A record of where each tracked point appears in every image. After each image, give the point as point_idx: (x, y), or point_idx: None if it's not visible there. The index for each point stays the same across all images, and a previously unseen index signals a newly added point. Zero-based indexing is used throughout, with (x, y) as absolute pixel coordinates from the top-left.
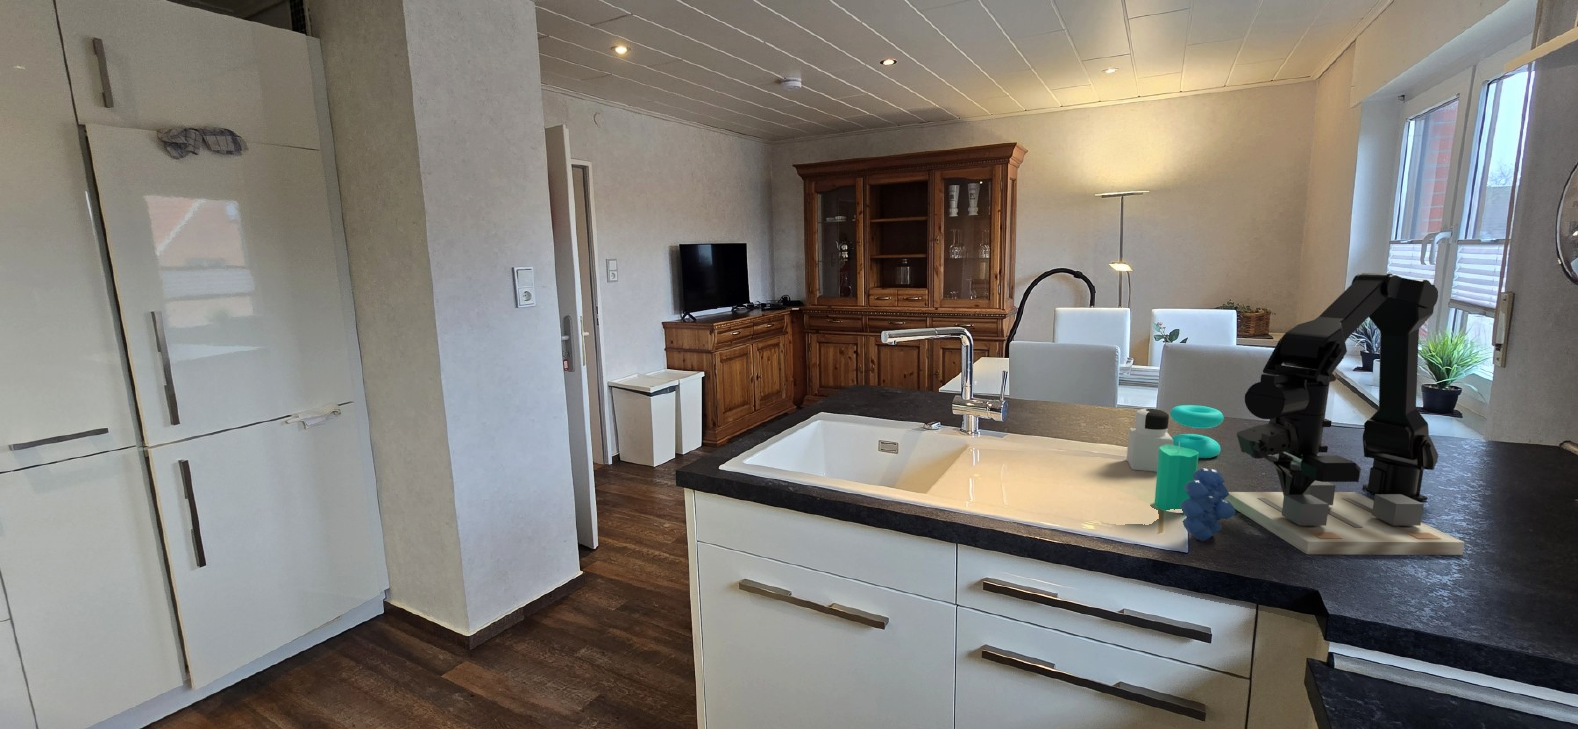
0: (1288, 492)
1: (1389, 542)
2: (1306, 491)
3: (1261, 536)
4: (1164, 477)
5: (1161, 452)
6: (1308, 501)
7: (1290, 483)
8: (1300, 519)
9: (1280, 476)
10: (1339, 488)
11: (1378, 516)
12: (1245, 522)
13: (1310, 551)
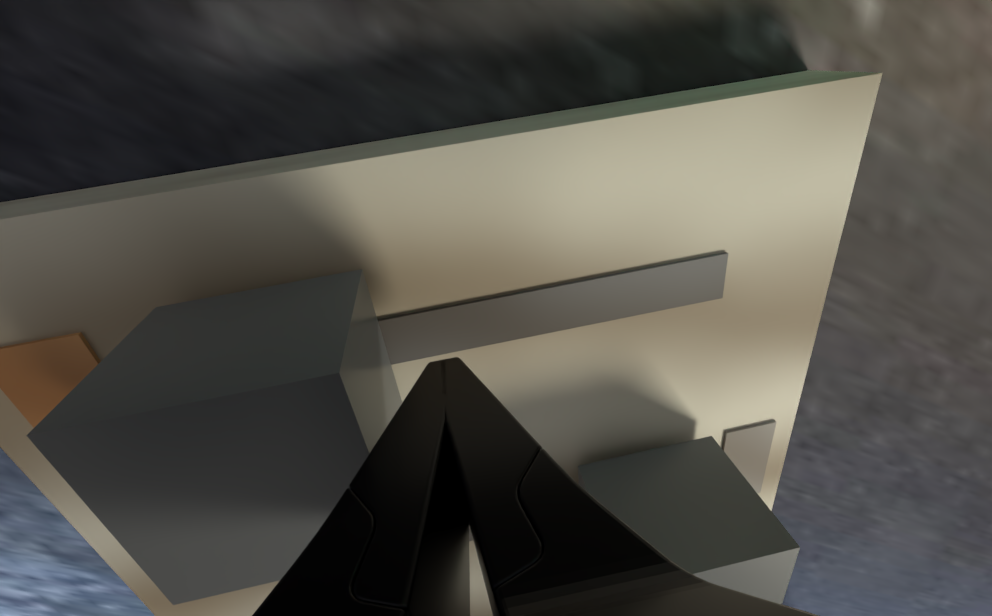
0: (394, 428)
1: (152, 607)
2: (632, 528)
3: (173, 31)
4: None
5: None
6: (173, 505)
7: (324, 534)
8: (131, 337)
9: (541, 510)
10: (839, 582)
11: None
12: (454, 40)
13: None
